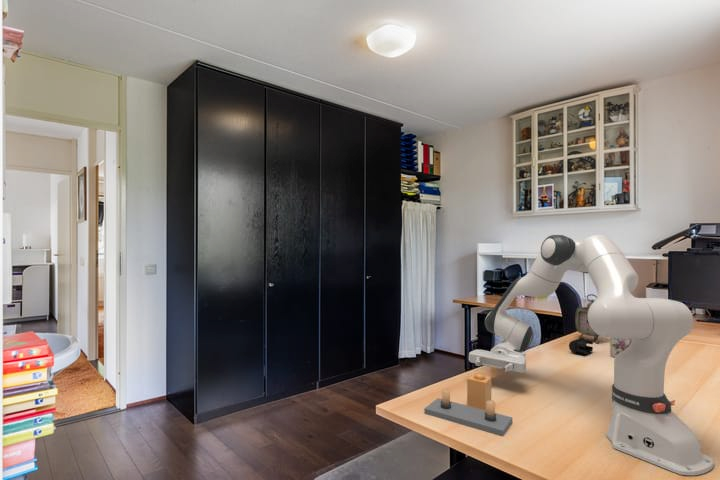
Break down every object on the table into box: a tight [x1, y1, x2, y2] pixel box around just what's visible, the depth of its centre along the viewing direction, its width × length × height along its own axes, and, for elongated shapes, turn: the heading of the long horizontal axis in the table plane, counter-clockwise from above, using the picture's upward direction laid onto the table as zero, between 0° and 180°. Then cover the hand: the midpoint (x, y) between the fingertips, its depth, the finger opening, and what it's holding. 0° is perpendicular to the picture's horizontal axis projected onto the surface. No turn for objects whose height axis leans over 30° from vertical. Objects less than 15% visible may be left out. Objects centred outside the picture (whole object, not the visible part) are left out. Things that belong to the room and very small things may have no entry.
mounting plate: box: [423, 389, 513, 437], centre depth 120 cm, size 24×10×6 cm, turn 54°
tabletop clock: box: [574, 293, 600, 344], centre depth 212 cm, size 14×9×25 cm, turn 17°
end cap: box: [568, 336, 594, 357], centre depth 189 cm, size 10×7×7 cm
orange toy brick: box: [466, 372, 492, 410], centre depth 129 cm, size 6×6×10 cm
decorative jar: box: [609, 338, 633, 359], centre depth 180 cm, size 12×12×18 cm
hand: (490, 366), depth 139 cm, fingers open, 8 cm apart
